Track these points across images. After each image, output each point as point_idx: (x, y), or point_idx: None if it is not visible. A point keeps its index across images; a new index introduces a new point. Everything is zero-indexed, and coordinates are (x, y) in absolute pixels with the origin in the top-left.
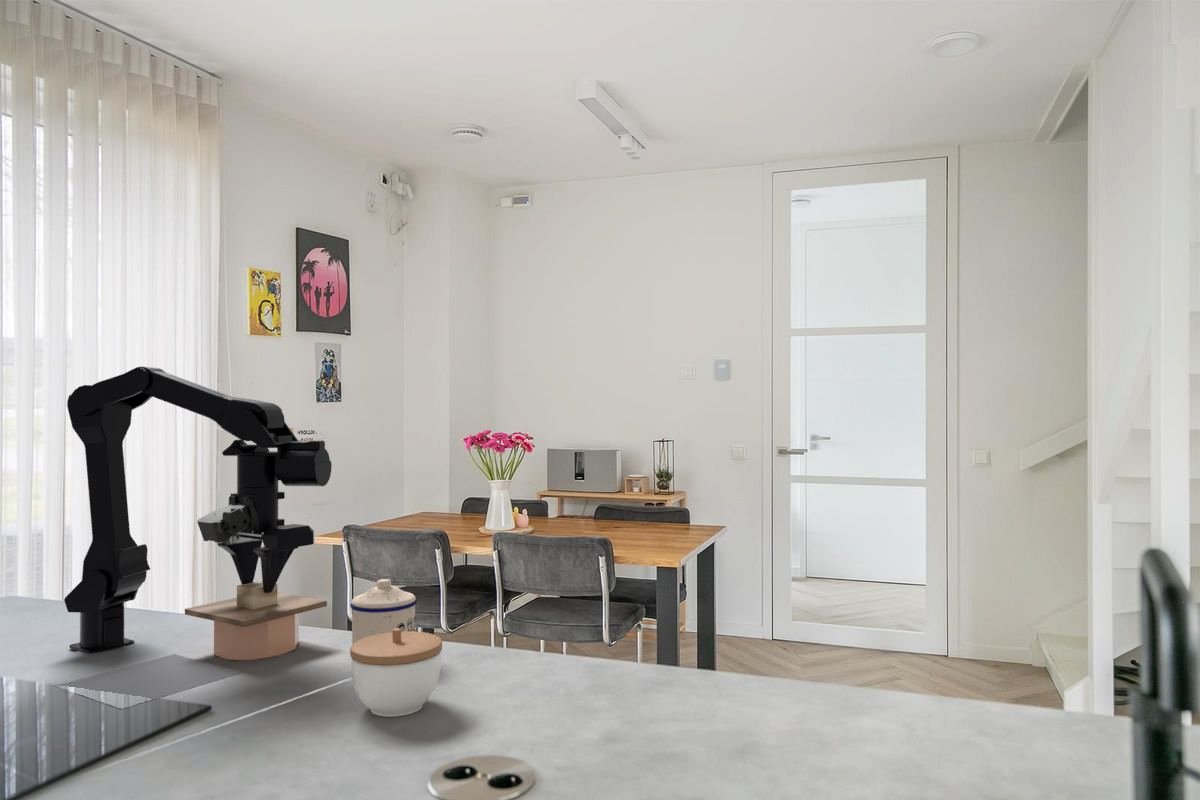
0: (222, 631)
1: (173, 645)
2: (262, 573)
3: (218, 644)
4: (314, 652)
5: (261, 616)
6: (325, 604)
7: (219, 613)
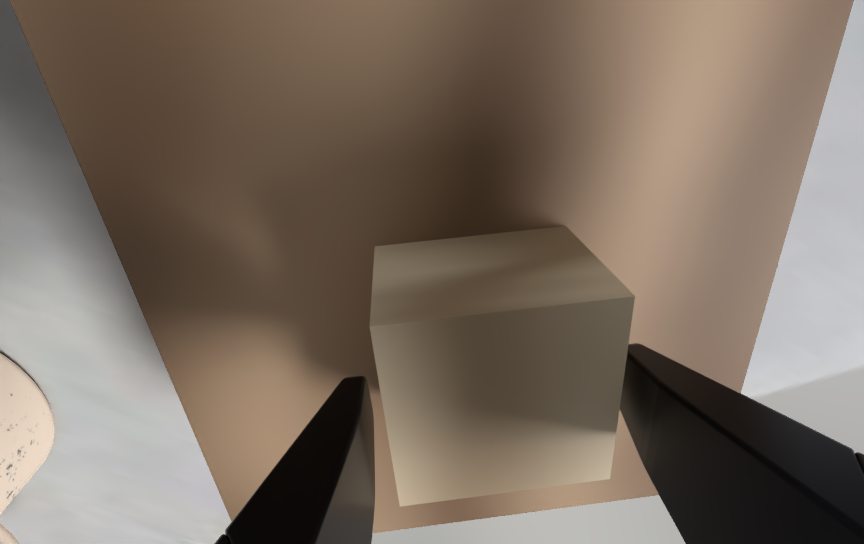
0: None
1: (846, 32)
2: (307, 504)
3: None
4: None
5: (98, 169)
6: None
7: (465, 13)
